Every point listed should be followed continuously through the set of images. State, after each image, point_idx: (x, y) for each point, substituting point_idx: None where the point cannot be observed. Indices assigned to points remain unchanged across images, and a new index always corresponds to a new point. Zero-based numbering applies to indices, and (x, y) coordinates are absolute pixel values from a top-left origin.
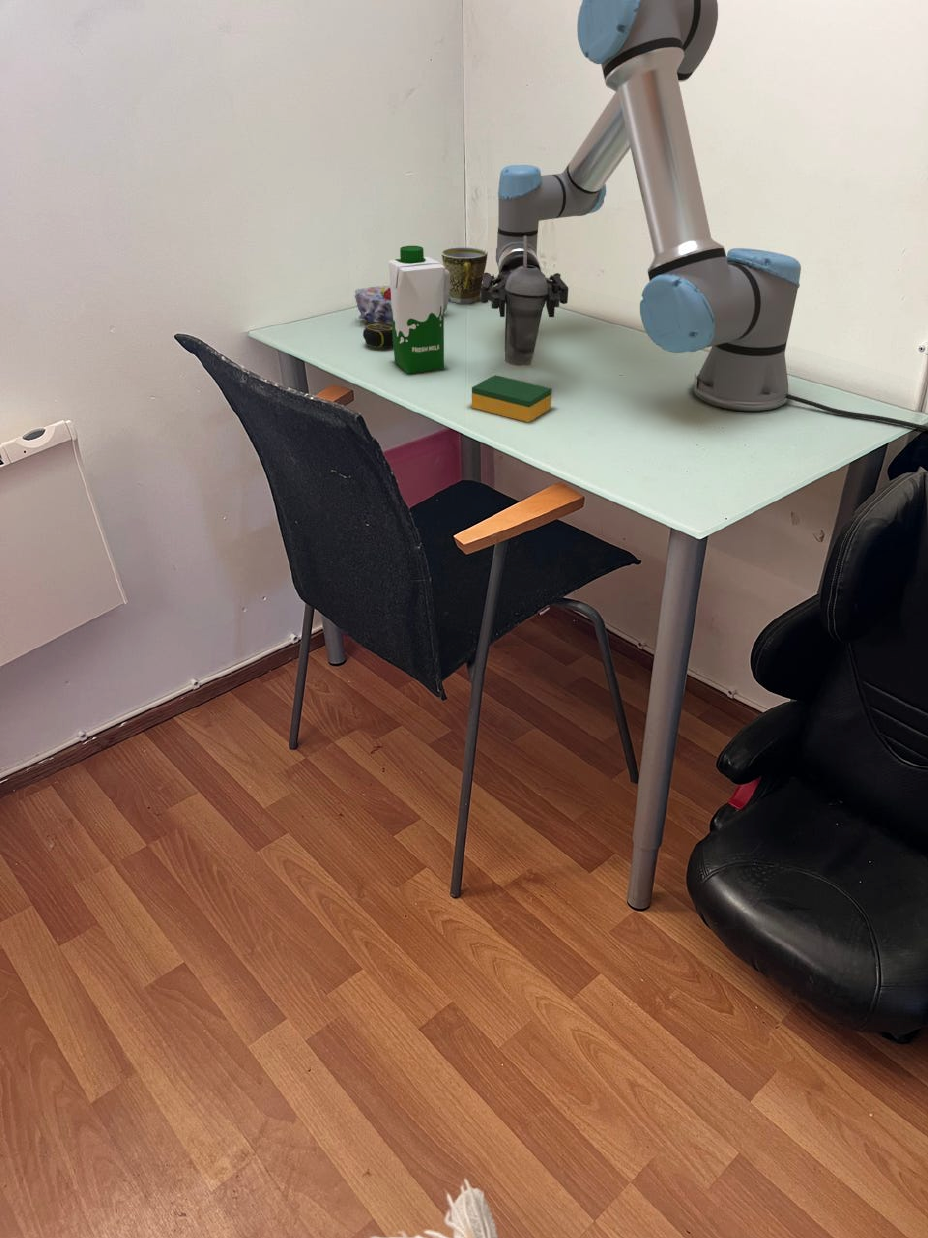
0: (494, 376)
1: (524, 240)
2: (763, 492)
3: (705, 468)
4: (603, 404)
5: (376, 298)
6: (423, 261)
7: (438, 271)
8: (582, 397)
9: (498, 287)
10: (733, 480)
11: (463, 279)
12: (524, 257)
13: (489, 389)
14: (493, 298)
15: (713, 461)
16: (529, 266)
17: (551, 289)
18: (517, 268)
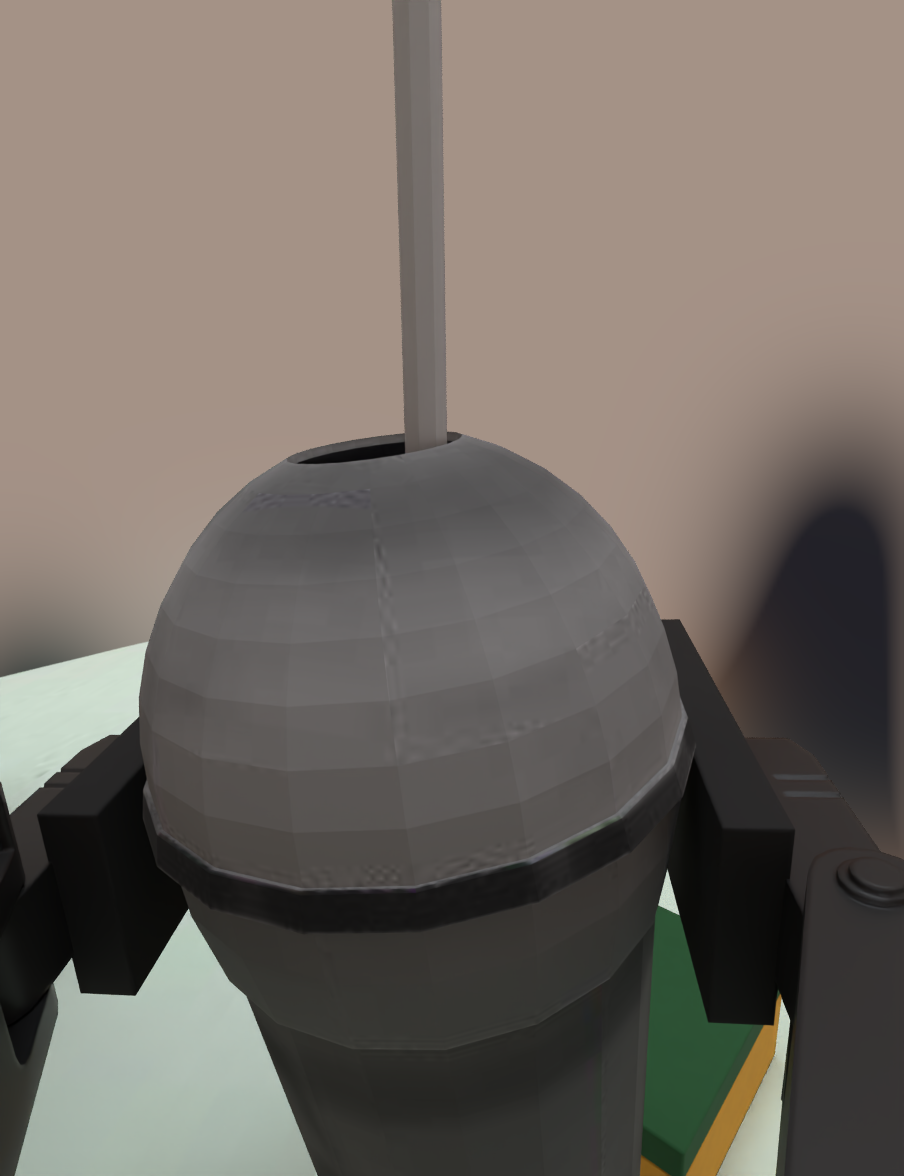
0: (683, 1123)
1: (431, 61)
2: (100, 657)
3: (127, 704)
4: (75, 1061)
5: None
6: None
7: None
8: (117, 1172)
9: (844, 928)
10: (114, 678)
11: None
12: (436, 321)
13: (678, 933)
14: (791, 748)
15: (82, 721)
16: (339, 490)
17: (57, 799)
18: (528, 465)
